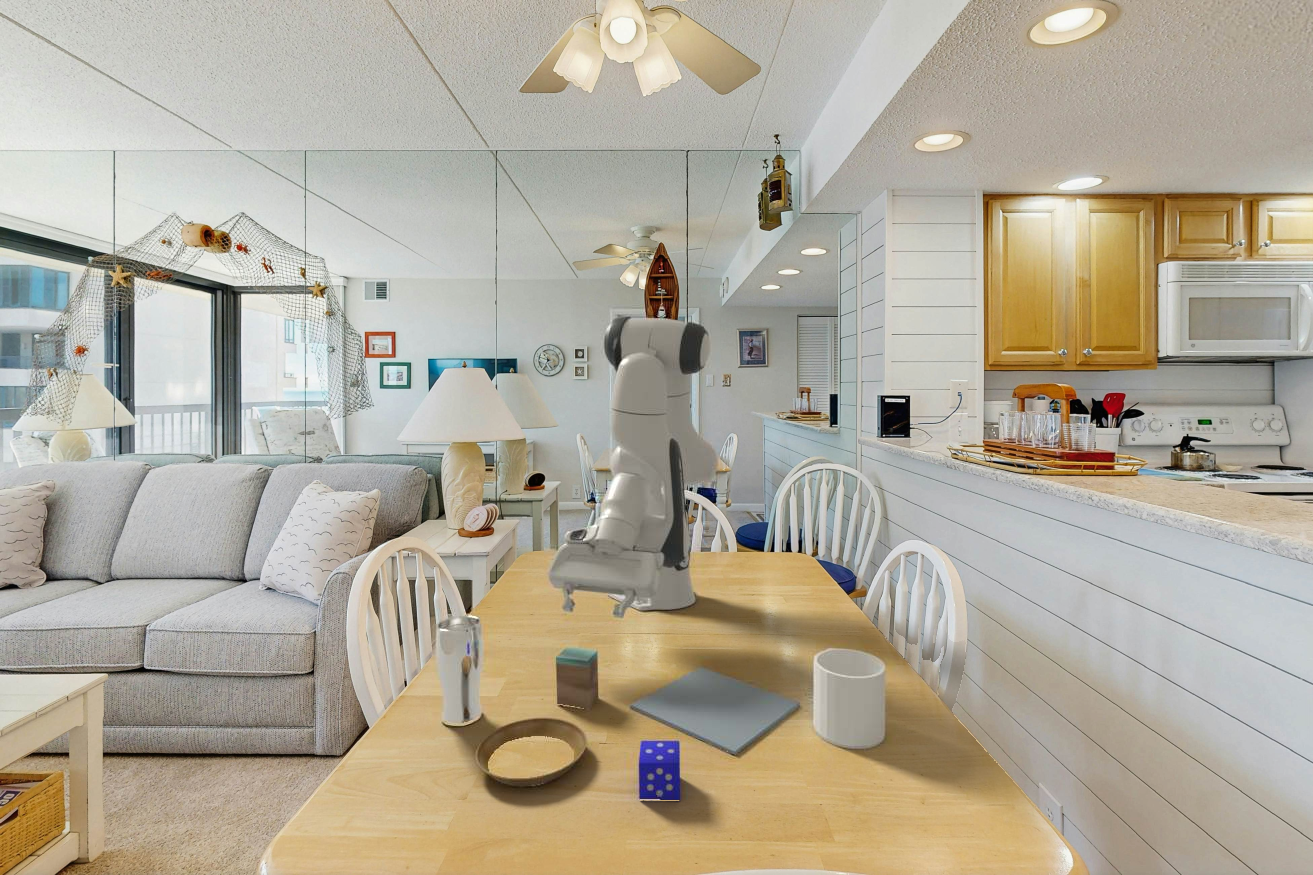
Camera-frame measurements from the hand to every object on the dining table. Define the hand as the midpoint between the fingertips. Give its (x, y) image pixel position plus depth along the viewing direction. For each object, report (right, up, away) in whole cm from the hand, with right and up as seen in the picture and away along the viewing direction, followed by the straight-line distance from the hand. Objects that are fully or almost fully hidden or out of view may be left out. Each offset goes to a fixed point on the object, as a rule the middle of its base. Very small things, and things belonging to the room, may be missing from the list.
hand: (592, 613), depth 106 cm
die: (+12, -14, -29) cm, 34 cm away
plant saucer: (-6, -14, -22) cm, 27 cm away
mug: (+39, -13, -14) cm, 44 cm away
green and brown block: (-2, -13, -6) cm, 14 cm away
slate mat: (+20, -13, -8) cm, 25 cm away
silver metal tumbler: (-19, -13, -10) cm, 26 cm away
